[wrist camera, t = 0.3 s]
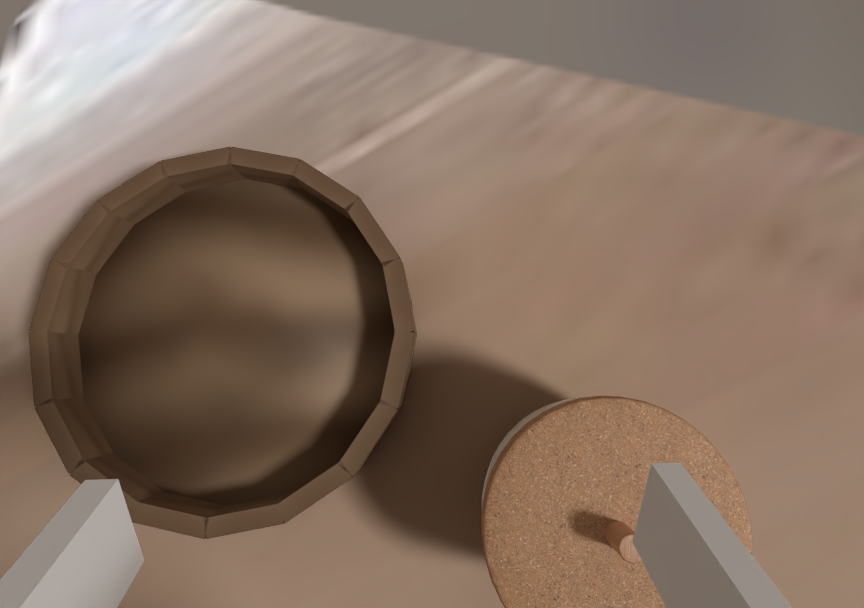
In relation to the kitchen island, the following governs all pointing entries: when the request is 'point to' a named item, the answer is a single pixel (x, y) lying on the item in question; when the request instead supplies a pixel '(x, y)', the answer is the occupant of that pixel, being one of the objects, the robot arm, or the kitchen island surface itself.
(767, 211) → the kitchen island surface
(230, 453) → the walnut tray
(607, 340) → the kitchen island surface
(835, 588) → the kitchen island surface
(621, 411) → the lidded jar
